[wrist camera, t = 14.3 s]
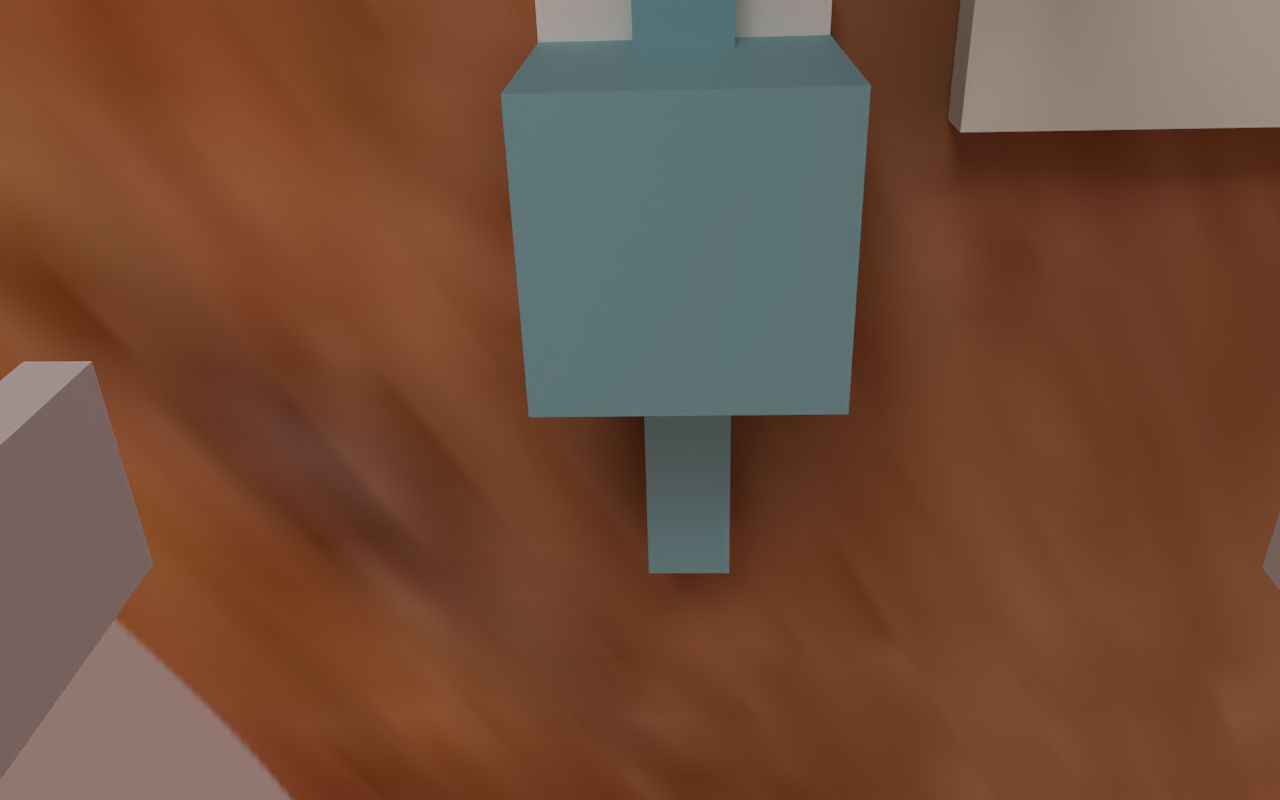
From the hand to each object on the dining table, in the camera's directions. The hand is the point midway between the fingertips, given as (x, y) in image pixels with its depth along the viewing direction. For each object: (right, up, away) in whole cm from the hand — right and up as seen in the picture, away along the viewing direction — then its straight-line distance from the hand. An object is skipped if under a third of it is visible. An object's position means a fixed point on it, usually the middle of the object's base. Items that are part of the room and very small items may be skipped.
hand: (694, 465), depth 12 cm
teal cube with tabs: (0, +5, +12) cm, 13 cm away
